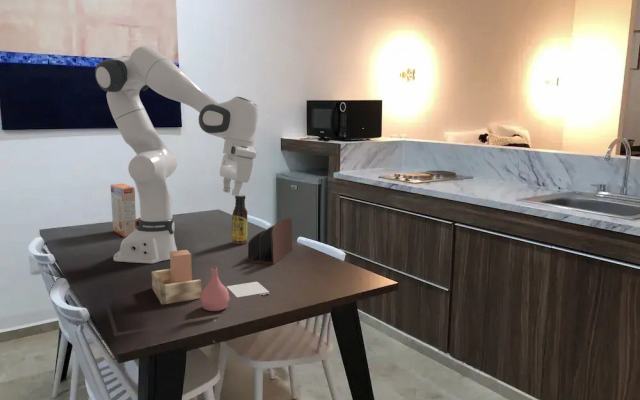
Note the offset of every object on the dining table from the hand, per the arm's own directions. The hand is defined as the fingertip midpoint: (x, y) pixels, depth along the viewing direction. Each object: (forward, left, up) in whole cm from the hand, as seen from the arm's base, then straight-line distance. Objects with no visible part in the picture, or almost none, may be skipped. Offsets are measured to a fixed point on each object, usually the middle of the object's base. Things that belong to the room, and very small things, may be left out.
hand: (230, 193), depth 159 cm
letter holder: (+11, +26, -28) cm, 40 cm away
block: (-13, -13, -27) cm, 33 cm away
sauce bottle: (-2, +44, -28) cm, 52 cm away
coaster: (+6, -11, -28) cm, 31 cm away
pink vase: (-2, -26, -28) cm, 38 cm away
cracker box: (-53, +60, -28) cm, 85 cm away
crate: (-14, -14, -28) cm, 34 cm away
